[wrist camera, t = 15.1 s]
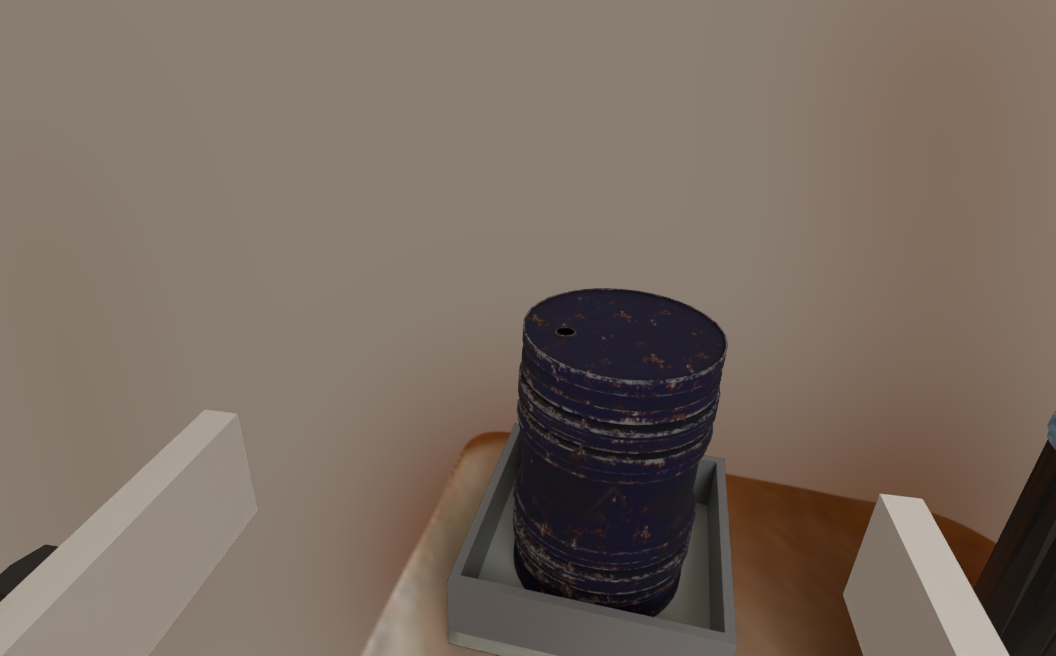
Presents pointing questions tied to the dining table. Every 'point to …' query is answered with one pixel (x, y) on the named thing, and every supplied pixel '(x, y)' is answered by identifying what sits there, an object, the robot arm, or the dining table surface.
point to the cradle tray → (578, 627)
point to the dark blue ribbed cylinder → (612, 444)
